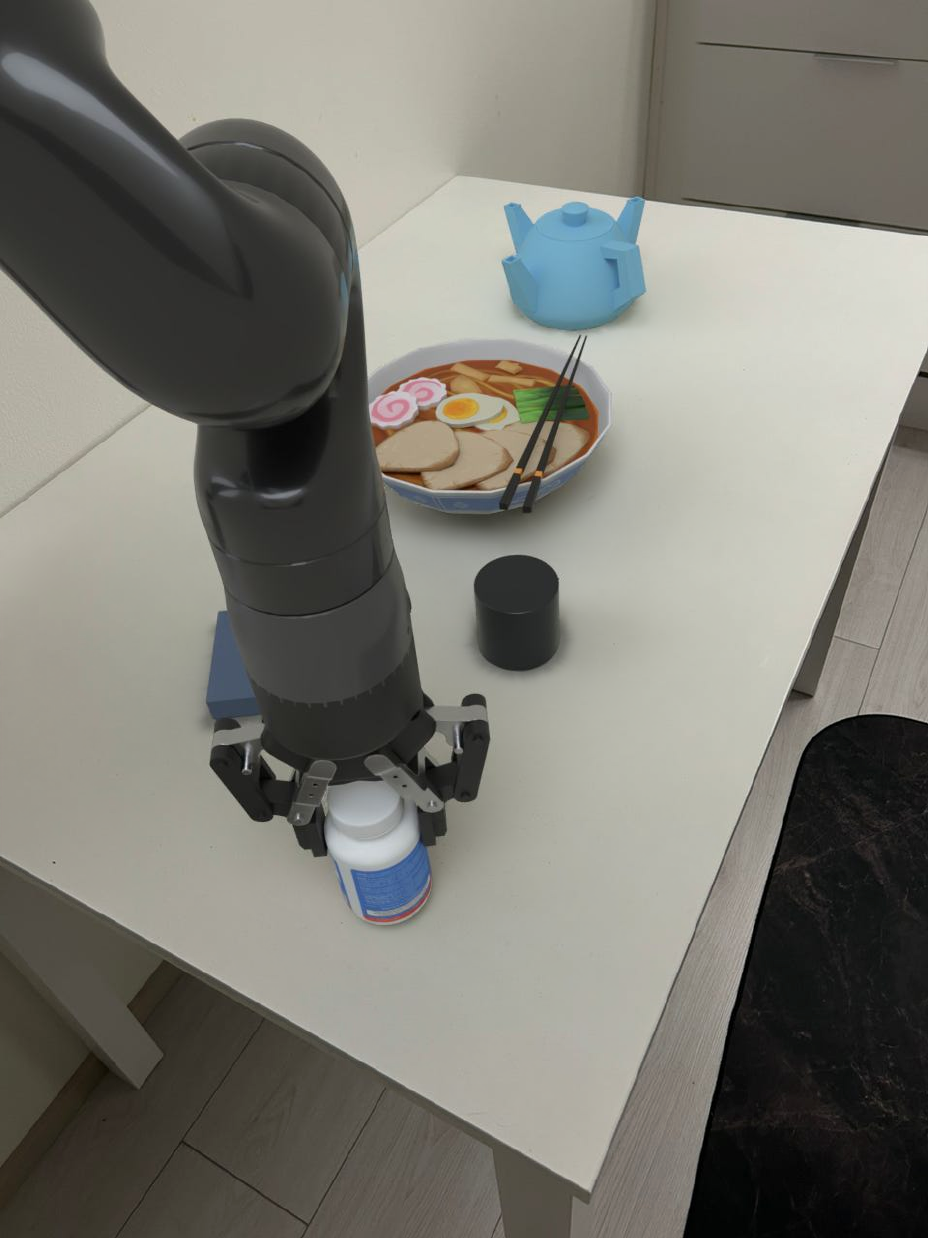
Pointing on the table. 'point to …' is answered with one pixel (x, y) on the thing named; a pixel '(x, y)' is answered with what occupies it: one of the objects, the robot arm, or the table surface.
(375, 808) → the pill bottle
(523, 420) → the ramen bowl
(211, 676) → the blue rectangular block
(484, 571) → the black cylinder
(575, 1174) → the table surface
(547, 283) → the teapot
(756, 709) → the table surface
